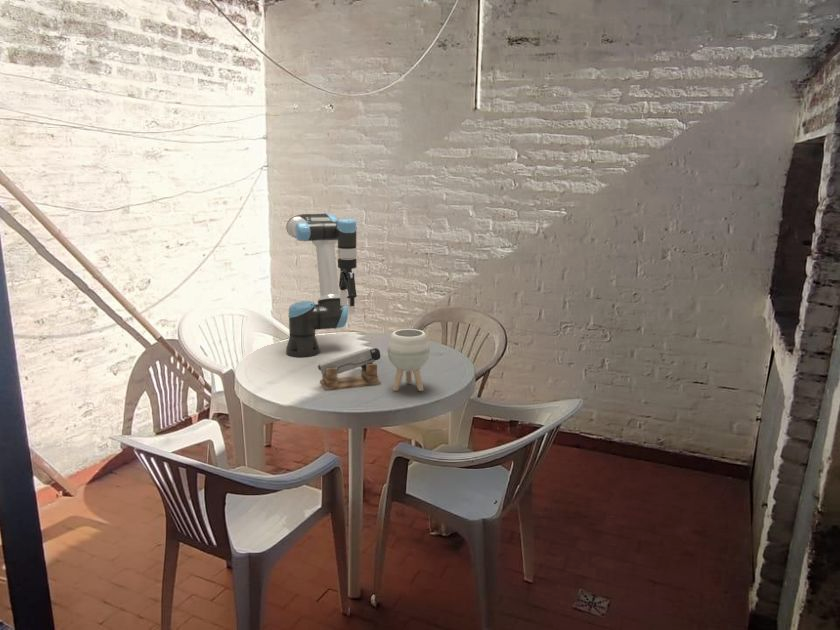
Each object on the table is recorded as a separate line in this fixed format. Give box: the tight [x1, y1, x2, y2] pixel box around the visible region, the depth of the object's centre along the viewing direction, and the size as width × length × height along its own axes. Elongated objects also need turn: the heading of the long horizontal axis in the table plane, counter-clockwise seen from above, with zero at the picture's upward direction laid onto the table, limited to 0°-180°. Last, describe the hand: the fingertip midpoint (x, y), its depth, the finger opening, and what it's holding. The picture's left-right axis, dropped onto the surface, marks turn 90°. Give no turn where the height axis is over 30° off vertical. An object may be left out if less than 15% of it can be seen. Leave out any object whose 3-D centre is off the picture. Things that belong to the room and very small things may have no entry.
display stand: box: [319, 363, 381, 391], centre depth 252 cm, size 22×10×8 cm, turn 110°
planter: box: [387, 328, 431, 392], centre depth 245 cm, size 16×16×22 cm
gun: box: [317, 347, 381, 378], centre depth 252 cm, size 2×25×10 cm, turn 110°
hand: (347, 309), depth 261 cm, fingers open, 13 cm apart
